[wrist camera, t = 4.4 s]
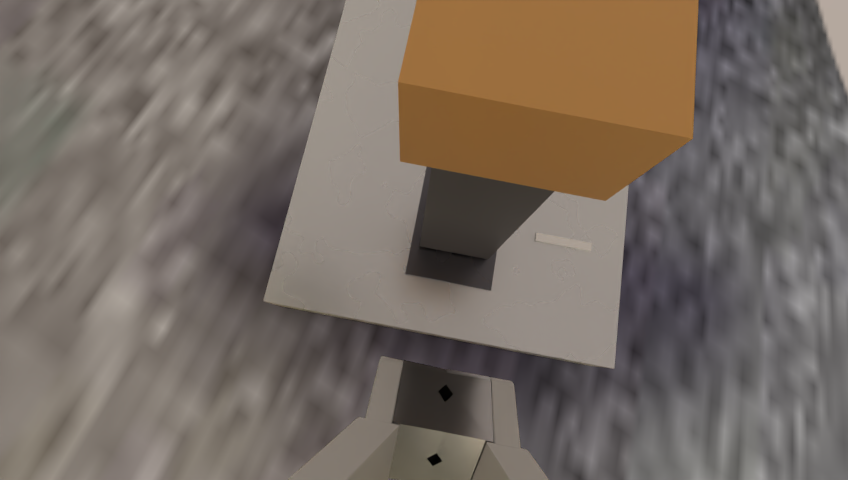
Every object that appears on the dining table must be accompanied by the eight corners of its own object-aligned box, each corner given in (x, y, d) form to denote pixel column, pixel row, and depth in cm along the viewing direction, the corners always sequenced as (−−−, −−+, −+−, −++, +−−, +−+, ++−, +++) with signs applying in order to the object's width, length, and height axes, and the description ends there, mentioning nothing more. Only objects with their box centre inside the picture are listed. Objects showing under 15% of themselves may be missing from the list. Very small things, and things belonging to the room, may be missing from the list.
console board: (589, 365, 16) (643, 372, 13) (279, 306, 17) (243, 295, 13) (627, -52, 21) (674, -135, 18) (387, -98, 21) (383, -191, 18)
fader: (500, 276, 15) (692, 138, 5) (402, 257, 15) (398, 81, 5) (513, 184, 16) (702, -94, 6) (420, 166, 16) (449, -143, 6)
